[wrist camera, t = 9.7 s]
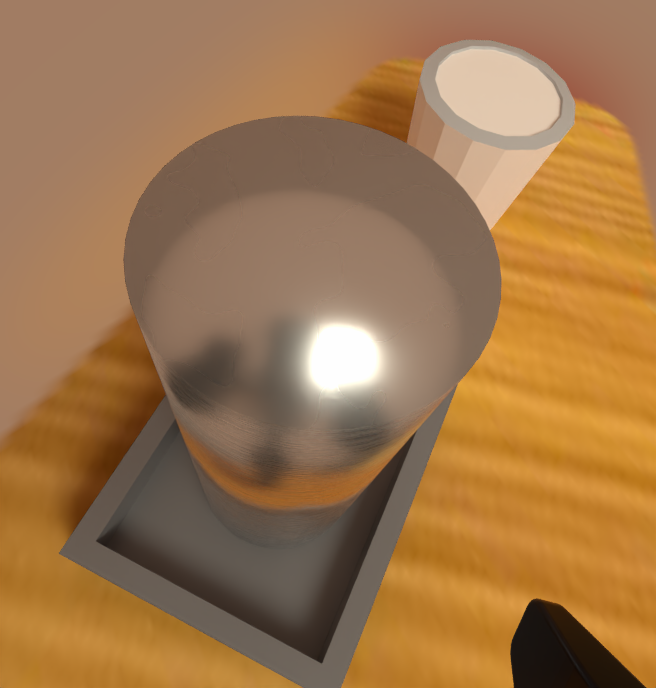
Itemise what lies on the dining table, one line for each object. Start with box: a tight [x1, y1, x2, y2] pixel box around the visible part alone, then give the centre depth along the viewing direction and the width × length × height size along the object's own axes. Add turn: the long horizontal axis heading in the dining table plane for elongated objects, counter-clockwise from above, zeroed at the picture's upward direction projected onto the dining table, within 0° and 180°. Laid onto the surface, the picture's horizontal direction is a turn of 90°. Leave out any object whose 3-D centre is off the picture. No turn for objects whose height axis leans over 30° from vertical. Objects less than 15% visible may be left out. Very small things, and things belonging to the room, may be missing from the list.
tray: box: [59, 385, 457, 688], centre depth 21 cm, size 12×10×2 cm
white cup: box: [407, 40, 575, 230], centre depth 26 cm, size 7×7×7 cm
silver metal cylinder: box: [124, 116, 501, 549], centre depth 15 cm, size 6×6×14 cm
